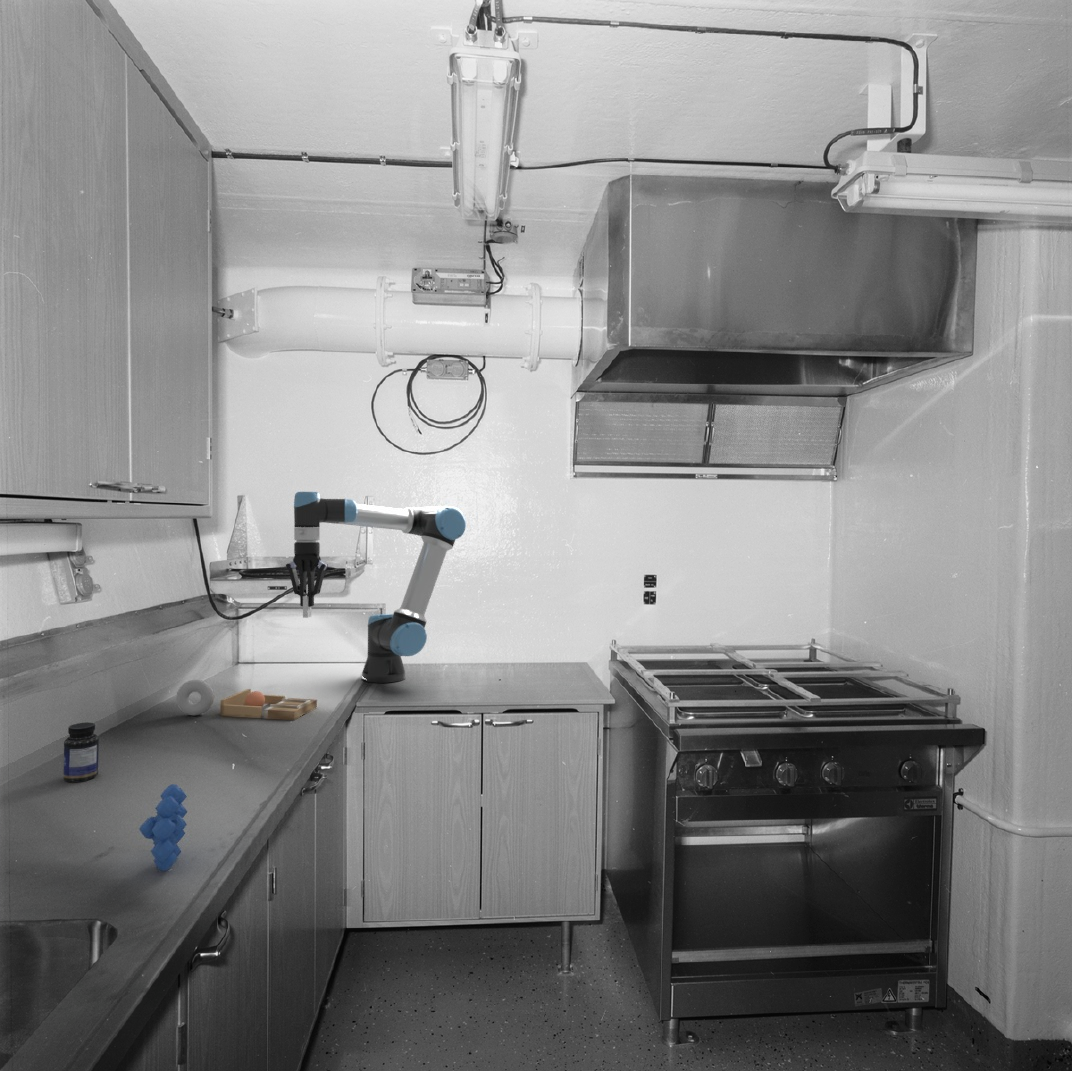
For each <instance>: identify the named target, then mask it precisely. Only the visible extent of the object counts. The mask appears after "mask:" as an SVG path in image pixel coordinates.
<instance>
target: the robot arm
mask: <svg viewBox="0 0 1072 1071" xmlns="http://www.w3.org/2000/svg"><path fill="white" fill-rule="evenodd" d="M293 515H294V516H293V518H294V519H293V520H294V526H293V527H294V528H293V529H294V530H293V532H294V535H293V537H294V539H293V540H294V541H296V542H294V543H293V547H294V550H293V553H294V554H293V555H294V557H293V559H292V561H290V563H289V562H288V563H286V565H285V567H286V569H287V570H288V572H289V576H290V581H291V584H292V589H293V594H295V595H297V596H299V600H300V601H299V603H300V604H299V605H300V607H302V618H306V619H308V618H311V617H312V607H314V606H315V596H317V595H319V594H321V590H322V586H323V581H324V576H325V574H326V570H327V569H328V567H329V564H328V563H324V561H322V558H321V556H320V551H321V549H320V547H321V544H320V542H318V541H320V538H321V536H320V535H321V534H320V532H321V531H320V526H321V525H320V524H321V523H324V524H325V523H326V524H334V525H335V524H336V525H337V524H338V525H345V526H346V525H347V526H358V527H365V528H366V527H368V528H377V529H386V530H396V531H401V532H402V533H403V534H406V535H415V536H419V537H421V540H422V541H423V543H422V544H423V545H422V547H421V549H420V552H419V554H418V557H417V561H416V563H415V566H414V569H413V572H412V574H411V577H410V580H409V583H408V585H407V589H406V591H405V594H404V597H403V599H402V602H401V605H400V607H399V608H398V609H396V610H394V611H393V613H386V614H372V615H370V616H369V617H368V623H367V658H366V661H365V664H364V667H363V669H362V672H361V677H362V676H363V677H364V678H366V679H367V681H366V682H369V683H375V684H376V683H377V684H378V683H380V684H381V683H384V684H385V683H394V682H400V681H403V680H405V679H406V669H405V666H404V662H403V660H402V657H413V656H415V655H416V654H419V653H420V652H421V651H422V650H423V648H424V647H425V646H426V644H427V640H428V639H427V636H428V634H427V633H426V628H425V627H426V624H427V619H426V617H425V614H426V612H427V609H428V606H429V603H430V599H431V598H432V595H433V592H434V589H435V587H436V586H435V585H436V583H437V580H438V577H439V575H440V571H441V568H442V566H443V563H444V560H445V558H446V554H447V552H448V551H450V550H452V549H453V548H454V545H455V542H456V540H458V539H459V538H461V537H462V536H463V535H464V534H465V531H466V526H467V523H466V522H467V520H466V519H465V516H464V514H463V511H462V510H460V509H459V508H458V507H455V506H450V505H438V506H436V505H435V506H433V505H432V506H423V507H422V506H421V507H410V506H405V508H396V507H395V508H393V507H387V506H386V507H385V506H377V505H370V504H361V503H360V504H359V503H357V502H356V501H355V500H354V499H351V498H350V499H349V498H321V495H320V493H319V492H317V491H297V492H296V493H294V499H293ZM296 567H297V569H298V571H297V569H296ZM317 567H318V570H317ZM316 570H317V574H316ZM297 572H298V573H297ZM315 574H316V578H315ZM298 575H299V576H298Z"/></svg>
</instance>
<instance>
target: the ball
mask: <svg viewBox="0 0 1072 1071" xmlns="http://www.w3.org/2000/svg"><path fill="white" fill-rule="evenodd" d="M264 695H265V694H264V693H262V692H260V691H257V690H256V691H251V693H249V694H248V695H247V697H246V699H245V705H246V706H262V707H263V706H264V704H265V697H264Z"/></svg>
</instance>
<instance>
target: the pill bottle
mask: <svg viewBox="0 0 1072 1071" xmlns="http://www.w3.org/2000/svg"><path fill="white" fill-rule="evenodd" d="M67 730H68V734H69V736H68V737H66V739H65V740H64V741H63V780H64V781H65V782H68V783H79V782H86V781H89V780H92V779H94V778H95V777H97V775H98V774H99V749H100V748H99V747H100V746H99V745H100V741H99V740H100V739H99V738H100V737H99V736H98V735H97V734H95V731H96V724H95V723H94V722H87V721H86V722H78V723H73V724H71V725H68V729H67Z"/></svg>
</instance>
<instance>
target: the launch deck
mask: <svg viewBox="0 0 1072 1071" xmlns="http://www.w3.org/2000/svg"><path fill="white" fill-rule="evenodd" d="M316 707H318V700H317V699H315V698H314V699H311V698H293V697H292V698H291V697H288V698H285V699H282V701H281V702H279V703H277V704H270V707H269V708H266V709H264V718H263V719H264V720H265V719H267V720H282V721H283V720H285V721H296V720H297V719H299V718H301V717H303V716H304V715H303V714H305V713H306V714H308V713H310V712H312V711H314V710H315V709H317V708H316ZM313 709H314V710H313ZM311 710H312V711H311ZM307 712H308V713H307ZM306 714H305V715H306ZM302 715H303V716H302ZM300 716H301V717H300ZM295 719H296V720H295Z"/></svg>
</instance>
